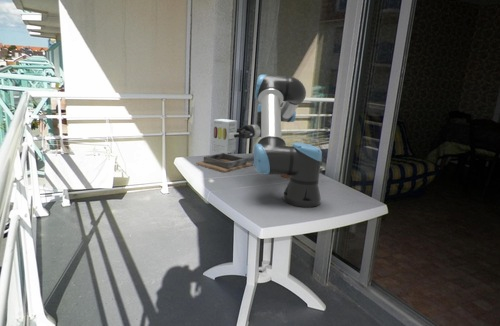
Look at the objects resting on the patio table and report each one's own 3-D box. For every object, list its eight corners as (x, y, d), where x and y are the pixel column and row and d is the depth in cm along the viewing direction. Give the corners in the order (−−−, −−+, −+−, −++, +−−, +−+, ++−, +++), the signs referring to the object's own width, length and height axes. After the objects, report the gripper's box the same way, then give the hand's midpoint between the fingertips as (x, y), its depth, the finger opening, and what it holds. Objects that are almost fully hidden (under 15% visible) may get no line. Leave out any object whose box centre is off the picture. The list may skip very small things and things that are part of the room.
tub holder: (224, 172, 173) (224, 165, 172) (196, 164, 184) (196, 157, 183) (252, 165, 192) (253, 158, 191) (225, 158, 203) (225, 151, 202)
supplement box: (211, 151, 184) (212, 119, 179) (220, 148, 192) (222, 118, 187) (227, 154, 179) (228, 121, 175) (235, 151, 187) (237, 120, 183)
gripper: (265, 141, 190) (236, 145, 174) (236, 134, 206) (207, 137, 190) (266, 128, 188) (237, 130, 173) (236, 121, 204) (207, 123, 188)
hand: (221, 134), depth 181 cm, fingers closed on supplement box, 11 cm apart
